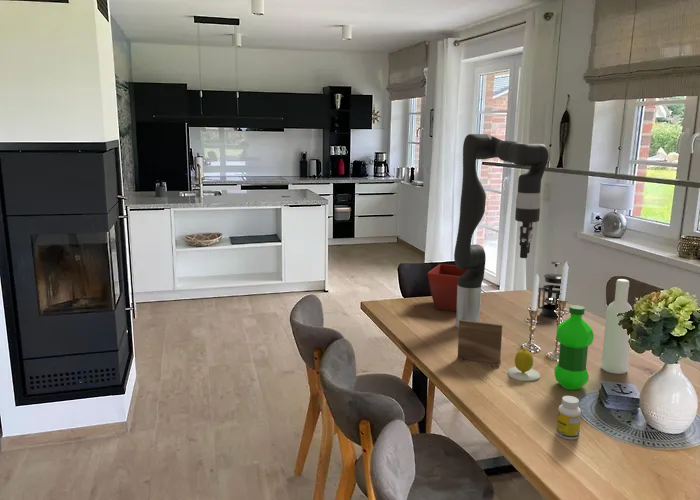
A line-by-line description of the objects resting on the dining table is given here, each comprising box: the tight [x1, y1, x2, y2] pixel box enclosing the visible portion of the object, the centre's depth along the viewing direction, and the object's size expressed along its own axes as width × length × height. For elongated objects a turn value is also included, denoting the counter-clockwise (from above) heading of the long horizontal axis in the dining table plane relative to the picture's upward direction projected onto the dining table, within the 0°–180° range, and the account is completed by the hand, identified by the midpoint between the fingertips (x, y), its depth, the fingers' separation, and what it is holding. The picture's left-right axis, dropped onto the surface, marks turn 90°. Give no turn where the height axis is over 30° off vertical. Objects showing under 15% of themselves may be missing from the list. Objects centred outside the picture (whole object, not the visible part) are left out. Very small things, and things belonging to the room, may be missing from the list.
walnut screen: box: [455, 319, 503, 369], centre depth 189 cm, size 5×14×14 cm, turn 68°
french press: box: [537, 261, 563, 319], centre depth 239 cm, size 12×9×23 cm
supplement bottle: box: [556, 395, 582, 441], centre depth 144 cm, size 5×5×10 cm
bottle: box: [600, 278, 633, 375], centre depth 182 cm, size 8×8×30 cm
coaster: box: [506, 366, 541, 382], centre depth 181 cm, size 10×10×1 cm
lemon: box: [514, 348, 534, 373], centre depth 180 cm, size 6×6×8 cm
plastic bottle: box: [554, 304, 595, 391], centre depth 170 cm, size 10×10×25 cm
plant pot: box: [427, 263, 467, 312], centre depth 250 cm, size 19×19×17 cm
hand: (524, 255), depth 187 cm, fingers open, 8 cm apart
